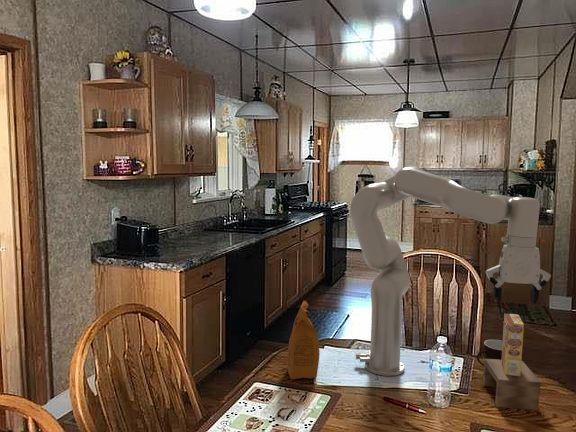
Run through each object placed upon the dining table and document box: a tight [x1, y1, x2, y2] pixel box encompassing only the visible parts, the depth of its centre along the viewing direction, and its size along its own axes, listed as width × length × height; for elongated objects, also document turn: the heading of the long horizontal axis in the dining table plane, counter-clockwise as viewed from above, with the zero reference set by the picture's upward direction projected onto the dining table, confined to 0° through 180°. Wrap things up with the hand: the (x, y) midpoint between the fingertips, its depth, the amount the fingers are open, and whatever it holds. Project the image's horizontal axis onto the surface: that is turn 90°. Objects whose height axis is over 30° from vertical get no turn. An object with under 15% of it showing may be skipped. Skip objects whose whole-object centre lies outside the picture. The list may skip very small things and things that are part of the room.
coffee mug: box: [476, 339, 503, 367], centre depth 159 cm, size 12×9×10 cm
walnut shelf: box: [482, 358, 542, 411], centre depth 145 cm, size 11×14×8 cm
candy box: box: [501, 313, 525, 376], centre depth 144 cm, size 9×4×15 cm, turn 165°
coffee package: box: [286, 300, 320, 380], centre depth 158 cm, size 10×12×22 cm
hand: (515, 301), depth 142 cm, fingers open, 9 cm apart
